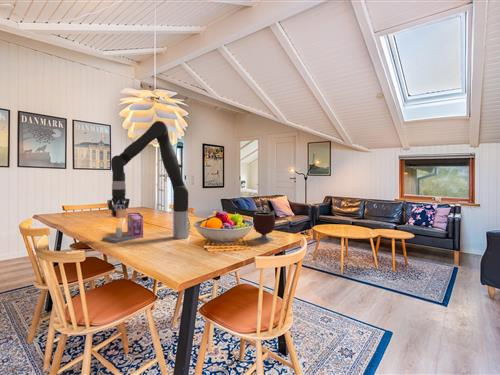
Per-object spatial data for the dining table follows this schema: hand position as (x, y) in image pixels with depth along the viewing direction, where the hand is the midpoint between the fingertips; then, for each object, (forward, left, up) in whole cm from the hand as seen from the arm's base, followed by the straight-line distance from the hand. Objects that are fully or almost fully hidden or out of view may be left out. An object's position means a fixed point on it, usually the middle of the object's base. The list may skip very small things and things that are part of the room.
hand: (118, 216), depth 168 cm
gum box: (-14, -4, -15) cm, 21 cm away
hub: (0, 0, 0) cm, 0 cm away
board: (0, 0, -15) cm, 15 cm away
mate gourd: (-49, +76, -15) cm, 92 cm away
